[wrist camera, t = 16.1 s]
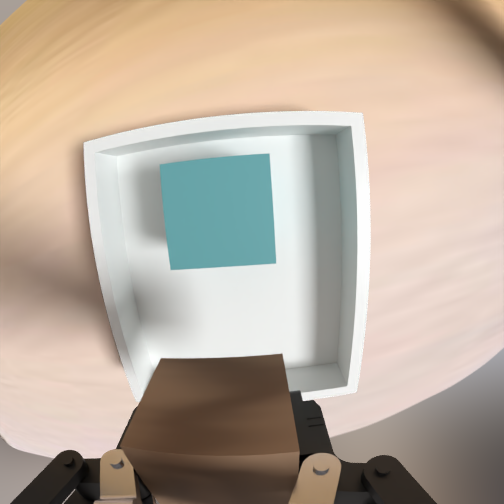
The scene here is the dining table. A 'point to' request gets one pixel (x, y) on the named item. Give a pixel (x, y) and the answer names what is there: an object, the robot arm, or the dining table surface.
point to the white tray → (239, 277)
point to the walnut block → (216, 432)
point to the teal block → (219, 212)
